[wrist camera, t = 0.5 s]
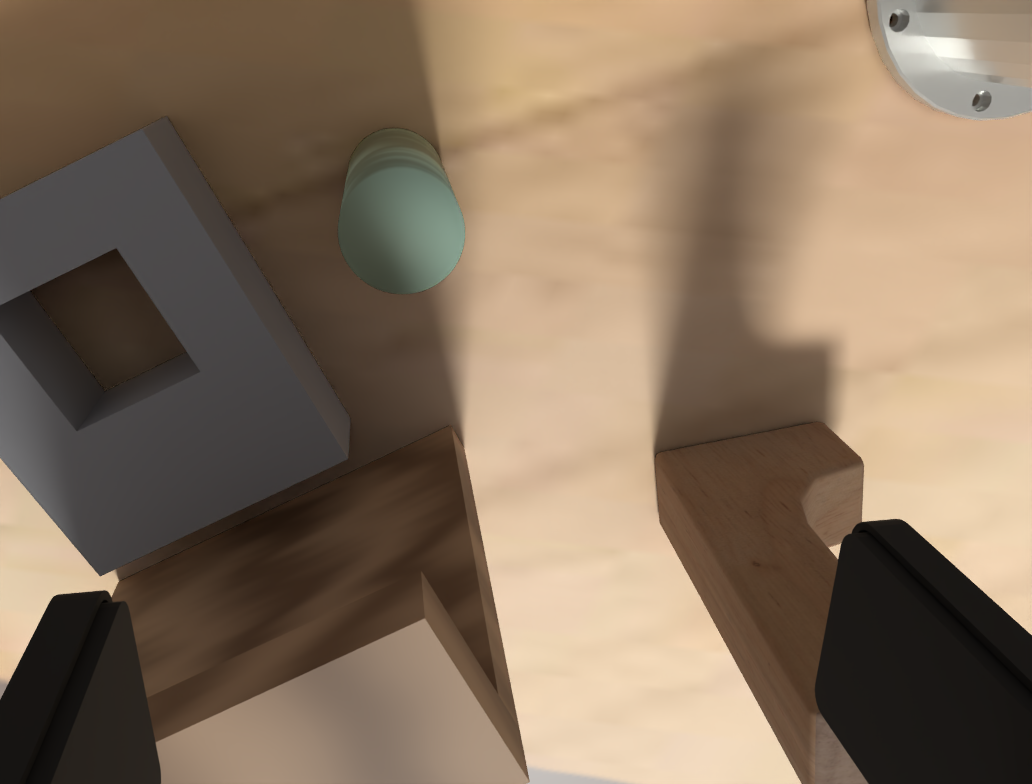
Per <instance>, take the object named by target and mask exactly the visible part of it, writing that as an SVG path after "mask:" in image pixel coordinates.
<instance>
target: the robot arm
mask: <svg viewBox="0 0 1032 784" xmlns="http://www.w3.org/2000/svg"><path fill="white" fill-rule="evenodd" d="M867 11H868V16H869V22H870V27H871V32H872V37H873V39H874V42H875V44H876V47H877V49H878V52H879V54H880V57H881V59H882V62H883V63H884V65H885V66H886V68H887V69H888V71H889V72H890V74H891V75H892V77H893V78H894V80H895V81H896V82H897V83H898V84H899V85H900V86H901V87H902V88H903V89H904V90H905V91H906V92H907V93H908V94H909V95H910V96H911V97H913V98H914V99H915V100H917V101H919V102H920V103H922V104H924V105H926V106H927V107H929V108H931V109H933V110H935V111H938V112H941V113H945V114H948V115H952V116H956V117H960V118H966V119H972V120H997V119H1008V118H1011V117H1015V116H1019V115H1023V114H1026V113H1030V112H1032V0H867ZM891 15H892V17H893V21H892V23H891V24H890V25H889V19H890V17H891ZM815 698H816V703H817V706H818V709H819V711H820V713H821V715H822V716H823V718H824V719H825V721H826V722H827V724H828V725H829V727H830V728H831V729H832V731H833V732H834V734H835V735H836V737H837V738H838V740H839V741H840V743H841V744H842V746H843V747H844V749H845V750H846V752H847V753H848V754H849V756H850V757H851V759H852V760H853V762H854V763H855V765H856V766H857V768H858V769H859V771H860V772H861V774H862V775H863V777H864V778H865V779H866V781H867V782H868V784H1032V635H1031V634H1029V633H1028V632H1027V631H1026V630H1025V629H1024V628H1023V627H1022V626H1021V625H1020V624H1018V623H1017V622H1016V621H1015V620H1014V619H1013V618H1012V617H1011V616H1010V615H1008V614H1007V613H1006V612H1005V611H1004V610H1003V609H1002V608H1001V607H1000V606H998V605H997V604H996V603H995V602H994V601H993V600H992V599H991V598H990V597H988V596H987V595H986V594H985V593H984V592H983V591H982V590H981V589H980V588H979V587H977V586H976V585H975V584H974V583H973V582H972V581H971V580H970V579H969V578H967V577H966V576H965V575H964V574H963V573H962V572H961V571H960V570H959V569H957V568H956V567H955V566H954V565H953V564H952V563H951V562H950V561H949V560H948V559H946V558H945V557H944V556H943V555H942V554H941V553H940V552H939V551H938V550H936V549H935V548H934V547H933V546H932V545H931V544H930V543H929V542H928V541H926V540H925V539H924V538H923V537H922V536H921V535H920V534H919V533H918V532H916V531H915V530H914V529H913V528H912V527H911V526H910V525H909V524H908V523H906V522H905V521H903V520H900V519H890V520H879V521H868V522H860V523H858V524H856V526H855V527H854V528H853V530H852V533H851V534H848V535H846V536H845V537H844V538H843V540H842V543H841V548H840V553H839V559H838V564H837V570H836V575H835V580H834V586H833V591H832V596H831V602H830V607H829V612H828V618H827V623H826V628H825V634H824V639H823V644H822V650H821V655H820V660H819V666H818V671H817V676H816V682H815ZM0 784H161V769H160V762H159V757H158V752H157V747H156V742H155V737H154V732H153V727H152V722H151V717H150V712H149V707H148V702H147V697H146V692H145V687H144V682H143V676H142V671H141V666H140V661H139V656H138V651H137V646H136V641H135V636H134V631H133V626H132V621H131V616H130V611H129V607H128V605H127V603H126V602H125V601H117V602H113V601H112V598H111V596H110V594H109V592H107V591H105V590H104V591H93V592H82V593H71V594H60V595H56V596H54V597H53V598H52V600H51V601H50V603H49V605H48V607H47V608H46V610H45V612H44V614H43V616H42V618H41V620H40V622H39V624H38V626H37V628H36V630H35V632H34V634H33V636H32V638H31V640H30V642H29V644H28V646H27V648H26V650H25V652H24V654H23V656H22V658H21V660H20V662H19V664H18V666H17V668H16V670H15V672H14V674H13V676H12V678H11V680H10V681H9V683H8V685H7V687H6V690H5V691H4V693H3V695H2V698H1V699H0Z"/></svg>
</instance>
